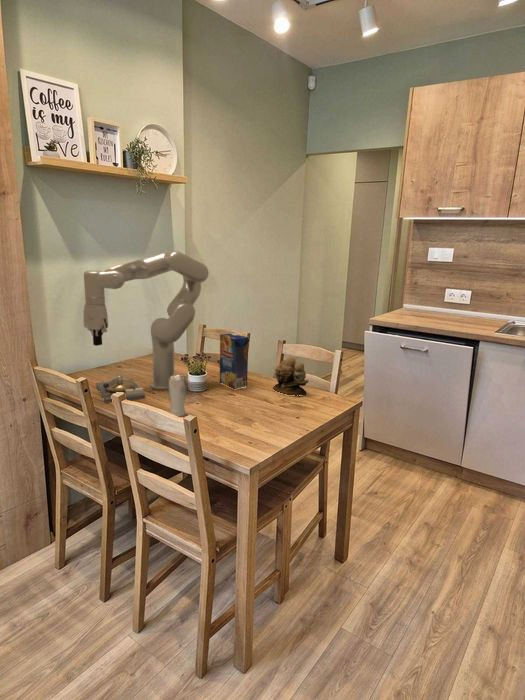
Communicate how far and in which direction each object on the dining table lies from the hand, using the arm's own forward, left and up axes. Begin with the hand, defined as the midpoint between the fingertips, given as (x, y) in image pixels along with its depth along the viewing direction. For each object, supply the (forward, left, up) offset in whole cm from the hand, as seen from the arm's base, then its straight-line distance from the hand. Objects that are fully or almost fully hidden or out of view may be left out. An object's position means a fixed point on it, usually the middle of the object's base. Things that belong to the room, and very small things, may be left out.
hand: (97, 344), depth 186 cm
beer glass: (-35, +22, -22) cm, 47 cm away
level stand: (-7, -4, -22) cm, 24 cm away
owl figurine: (-83, -6, -22) cm, 86 cm away
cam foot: (-6, -1, -20) cm, 21 cm away
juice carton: (-57, -14, -22) cm, 63 cm away
